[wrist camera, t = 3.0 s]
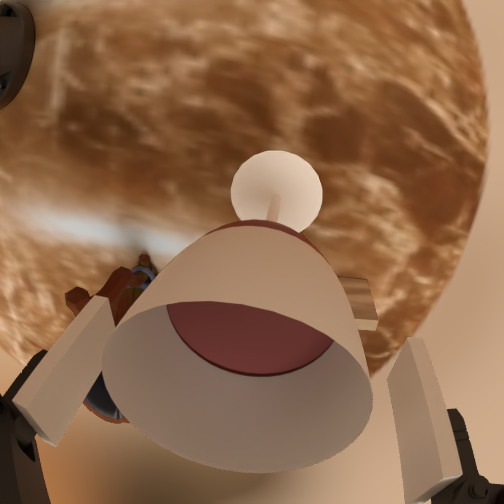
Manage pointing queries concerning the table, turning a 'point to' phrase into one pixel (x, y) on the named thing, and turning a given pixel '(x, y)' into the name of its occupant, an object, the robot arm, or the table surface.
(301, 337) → the wineglass
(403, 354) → the robot arm
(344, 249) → the table surface
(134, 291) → the brown pitcher
